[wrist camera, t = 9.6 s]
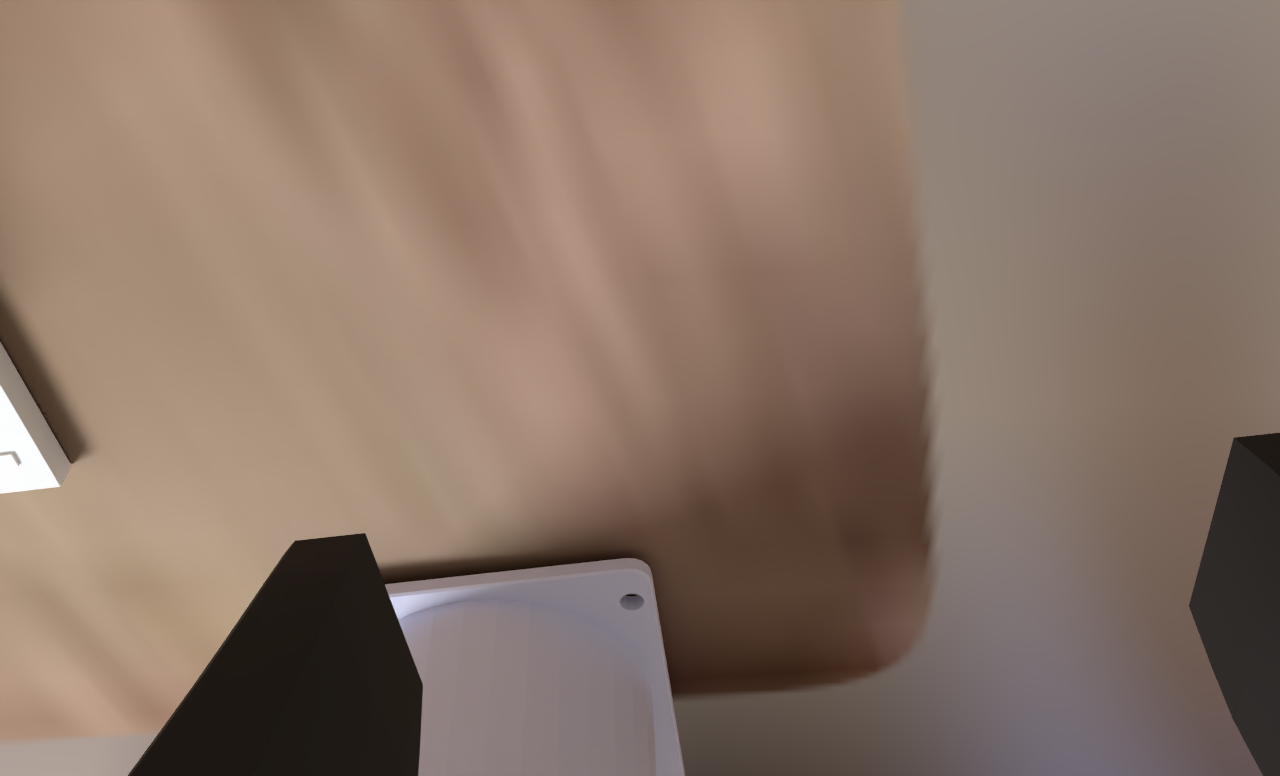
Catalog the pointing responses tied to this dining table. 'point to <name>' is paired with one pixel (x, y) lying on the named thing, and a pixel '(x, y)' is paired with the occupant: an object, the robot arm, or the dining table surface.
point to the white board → (25, 438)
